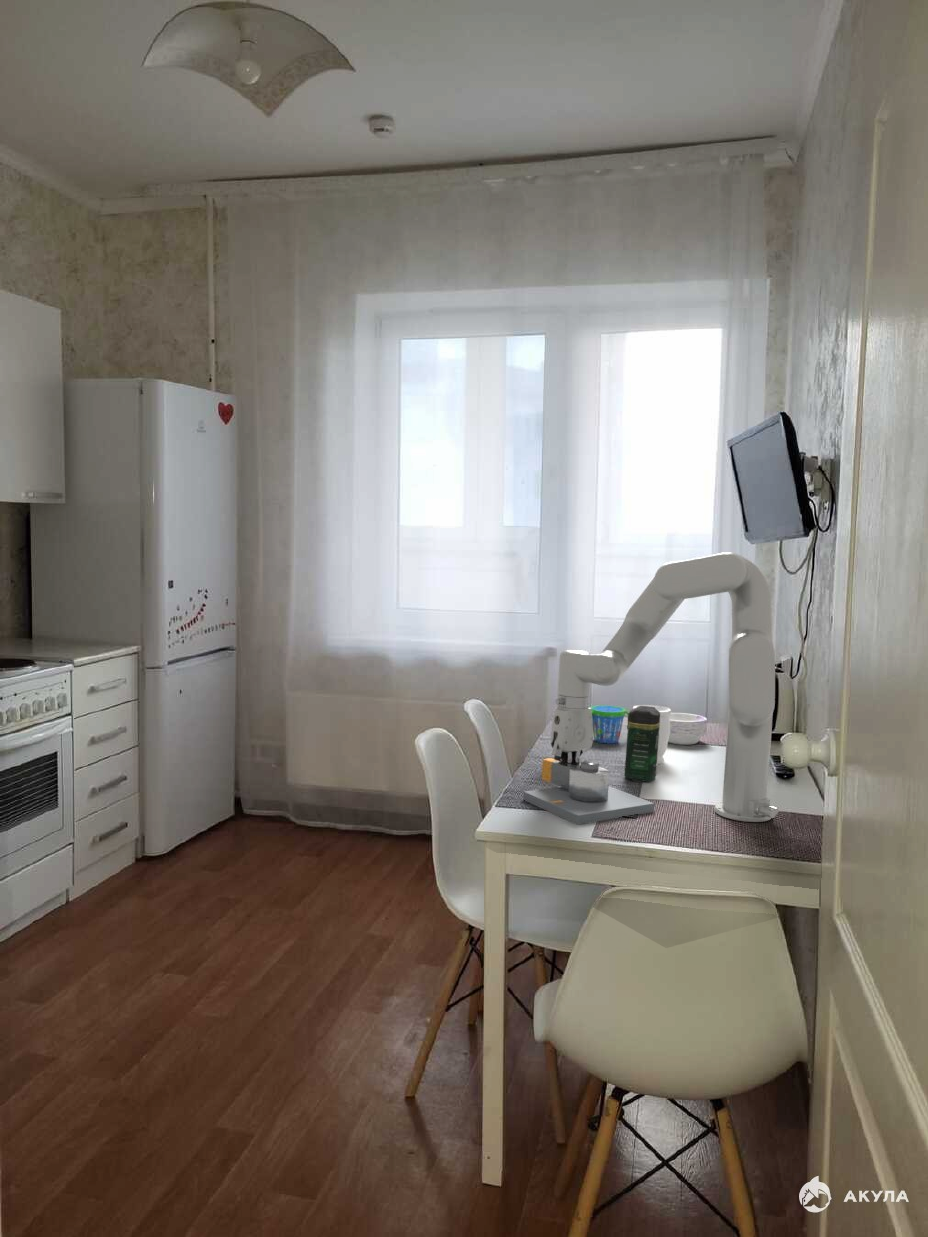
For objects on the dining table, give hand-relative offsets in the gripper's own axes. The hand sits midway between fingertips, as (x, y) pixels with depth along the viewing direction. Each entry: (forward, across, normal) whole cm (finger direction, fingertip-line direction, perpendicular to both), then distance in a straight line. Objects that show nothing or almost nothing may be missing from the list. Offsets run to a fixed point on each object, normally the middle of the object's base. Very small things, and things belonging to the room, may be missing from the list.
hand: (568, 777), depth 224 cm
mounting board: (+4, -3, -10) cm, 11 cm away
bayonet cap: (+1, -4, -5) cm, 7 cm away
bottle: (+4, +18, +20) cm, 27 cm away
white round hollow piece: (+4, +71, +26) cm, 76 cm away
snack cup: (+4, +50, +37) cm, 62 cm away
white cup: (+4, +43, +13) cm, 45 cm away
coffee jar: (+4, +27, +1) cm, 27 cm away
